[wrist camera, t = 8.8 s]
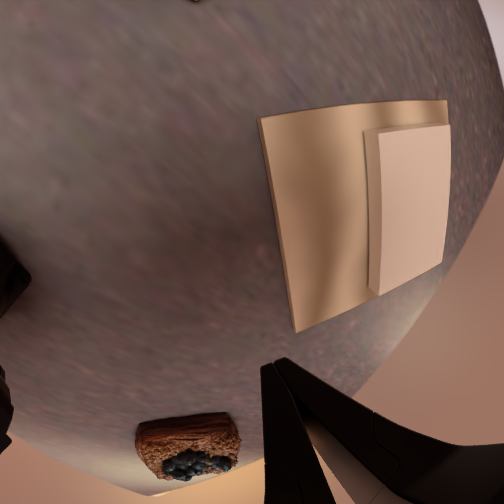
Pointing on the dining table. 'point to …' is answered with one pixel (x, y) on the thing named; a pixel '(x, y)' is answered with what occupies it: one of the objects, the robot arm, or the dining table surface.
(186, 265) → the dining table surface
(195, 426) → the pastry
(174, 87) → the dining table surface
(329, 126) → the board
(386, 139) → the tile
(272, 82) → the dining table surface
